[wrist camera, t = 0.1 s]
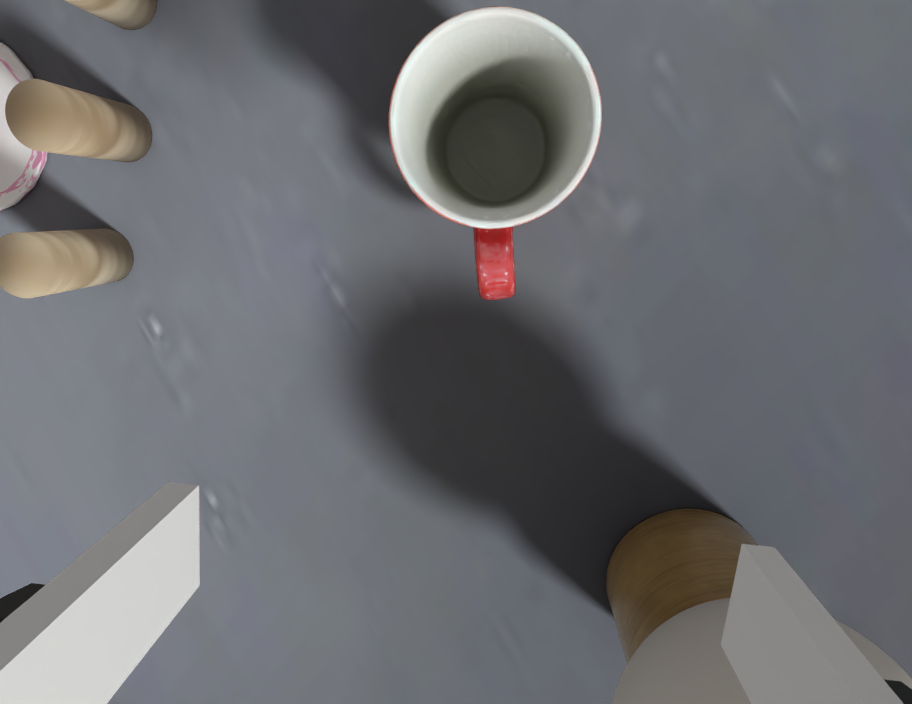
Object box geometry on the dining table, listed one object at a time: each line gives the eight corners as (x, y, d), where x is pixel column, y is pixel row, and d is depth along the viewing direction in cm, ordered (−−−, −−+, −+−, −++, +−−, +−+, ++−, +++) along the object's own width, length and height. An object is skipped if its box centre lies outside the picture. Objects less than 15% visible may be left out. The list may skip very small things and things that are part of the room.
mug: (422, 73, 39) (386, 4, 26) (570, 73, 39) (609, 4, 26) (422, 278, 42) (389, 309, 29) (560, 281, 41) (590, 314, 28)
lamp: (527, 527, 45) (564, 897, 21) (700, 421, 43) (970, 701, 19) (640, 681, 48) (793, 1177, 23) (812, 589, 45) (1184, 1036, 21)
